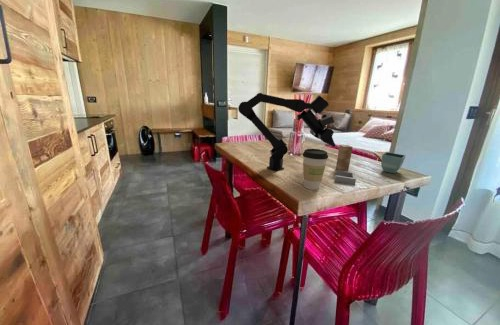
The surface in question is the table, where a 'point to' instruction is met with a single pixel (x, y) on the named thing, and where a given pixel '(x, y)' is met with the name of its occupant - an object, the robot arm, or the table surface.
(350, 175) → the u-shaped bracket
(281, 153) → the robot arm
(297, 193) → the table surface
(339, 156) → the wooden block
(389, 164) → the flower pot
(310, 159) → the coffee cup
